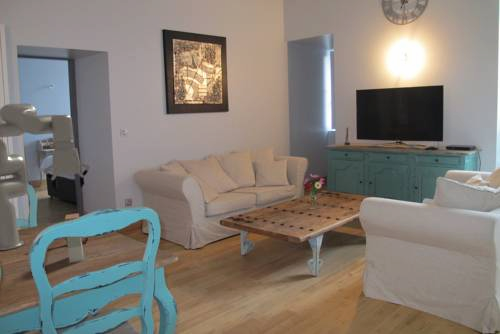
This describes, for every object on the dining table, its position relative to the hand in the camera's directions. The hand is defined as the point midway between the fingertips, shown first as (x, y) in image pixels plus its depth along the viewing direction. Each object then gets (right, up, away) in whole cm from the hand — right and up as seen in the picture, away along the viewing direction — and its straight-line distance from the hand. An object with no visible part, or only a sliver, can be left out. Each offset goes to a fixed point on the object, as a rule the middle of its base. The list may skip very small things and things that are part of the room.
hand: (69, 188), depth 183 cm
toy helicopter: (-11, -28, +27) cm, 40 cm away
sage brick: (+1, -23, +3) cm, 24 cm away
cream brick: (+2, -29, +4) cm, 30 cm away
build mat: (+2, -30, +4) cm, 30 cm away
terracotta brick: (+1, -18, +2) cm, 18 cm away
